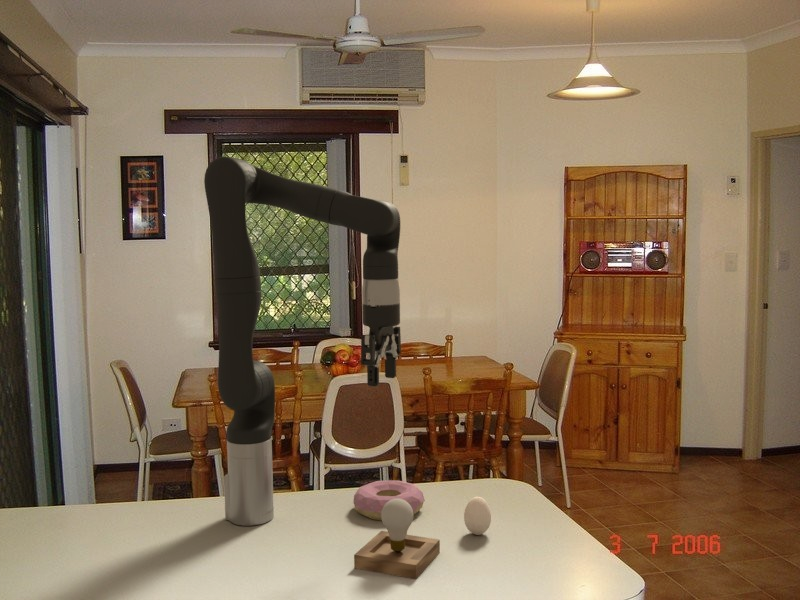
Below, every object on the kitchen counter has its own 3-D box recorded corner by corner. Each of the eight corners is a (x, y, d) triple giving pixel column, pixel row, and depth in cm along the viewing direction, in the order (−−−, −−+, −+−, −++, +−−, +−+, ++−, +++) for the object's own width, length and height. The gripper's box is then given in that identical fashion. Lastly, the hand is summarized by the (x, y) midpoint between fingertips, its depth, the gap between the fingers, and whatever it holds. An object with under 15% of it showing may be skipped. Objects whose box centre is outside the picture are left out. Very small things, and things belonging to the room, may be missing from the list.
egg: (484, 527, 163) (484, 491, 162) (495, 537, 158) (495, 499, 157) (459, 531, 161) (459, 494, 160) (470, 541, 156) (470, 502, 155)
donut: (430, 501, 179) (430, 479, 179) (415, 526, 164) (415, 503, 164) (363, 496, 183) (363, 475, 182) (343, 521, 168) (343, 497, 167)
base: (354, 568, 145) (354, 554, 144) (381, 543, 156) (381, 530, 155) (416, 578, 140) (416, 565, 140) (439, 552, 151) (439, 539, 151)
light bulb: (410, 559, 144) (409, 505, 143) (378, 557, 145) (377, 504, 144) (416, 546, 150) (415, 494, 149) (385, 544, 151) (384, 493, 150)
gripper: (378, 297, 167) (379, 374, 169) (348, 304, 154) (349, 387, 156) (411, 298, 165) (412, 376, 166) (383, 305, 151) (384, 390, 153)
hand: (382, 381), depth 161 cm, fingers open, 8 cm apart
